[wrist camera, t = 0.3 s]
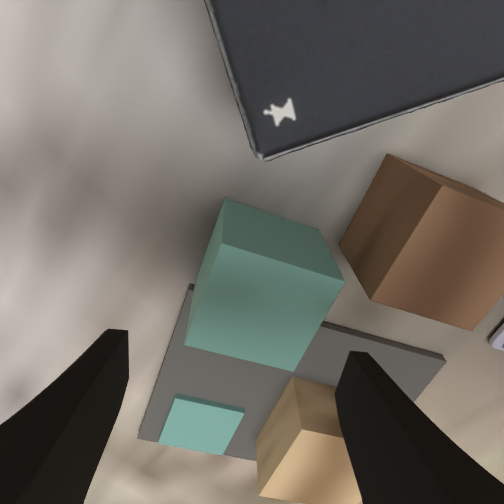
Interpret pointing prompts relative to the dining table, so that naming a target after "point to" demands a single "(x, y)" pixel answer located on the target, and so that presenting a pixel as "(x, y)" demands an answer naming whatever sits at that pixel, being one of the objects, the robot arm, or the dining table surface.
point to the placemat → (272, 376)
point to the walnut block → (427, 245)
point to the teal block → (261, 288)
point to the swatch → (200, 424)
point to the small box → (350, 62)
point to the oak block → (305, 448)
